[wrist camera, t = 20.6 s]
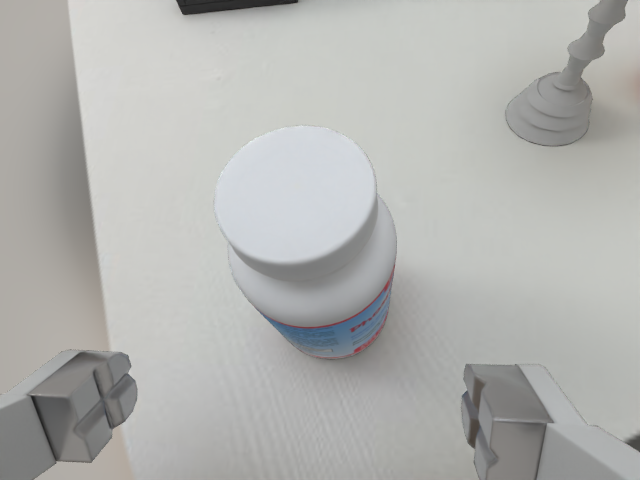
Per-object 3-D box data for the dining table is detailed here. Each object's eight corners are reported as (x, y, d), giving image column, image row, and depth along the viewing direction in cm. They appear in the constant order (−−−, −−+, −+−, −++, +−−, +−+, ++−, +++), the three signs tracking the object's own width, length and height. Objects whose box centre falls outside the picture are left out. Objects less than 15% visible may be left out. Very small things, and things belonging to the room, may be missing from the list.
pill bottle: (384, 368, 18) (403, 306, 8) (269, 353, 19) (154, 281, 9) (390, 258, 20) (410, 106, 10) (289, 250, 21) (218, 106, 11)
